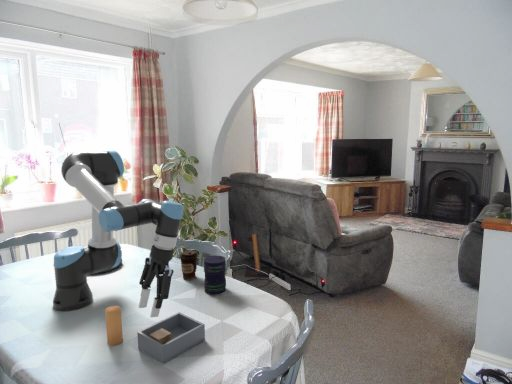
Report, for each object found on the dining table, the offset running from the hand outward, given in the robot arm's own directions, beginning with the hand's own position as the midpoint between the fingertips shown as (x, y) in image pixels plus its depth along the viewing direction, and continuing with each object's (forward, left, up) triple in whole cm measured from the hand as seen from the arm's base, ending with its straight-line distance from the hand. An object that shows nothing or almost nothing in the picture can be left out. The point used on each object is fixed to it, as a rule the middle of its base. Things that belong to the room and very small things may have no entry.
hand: (148, 311), depth 127 cm
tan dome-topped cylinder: (-12, +4, -11) cm, 17 cm away
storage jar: (+28, +36, -12) cm, 47 cm away
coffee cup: (+18, +54, -12) cm, 58 cm away
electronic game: (-27, +82, -12) cm, 87 cm away
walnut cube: (+4, -6, -10) cm, 13 cm away
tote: (+7, -3, -11) cm, 14 cm away
